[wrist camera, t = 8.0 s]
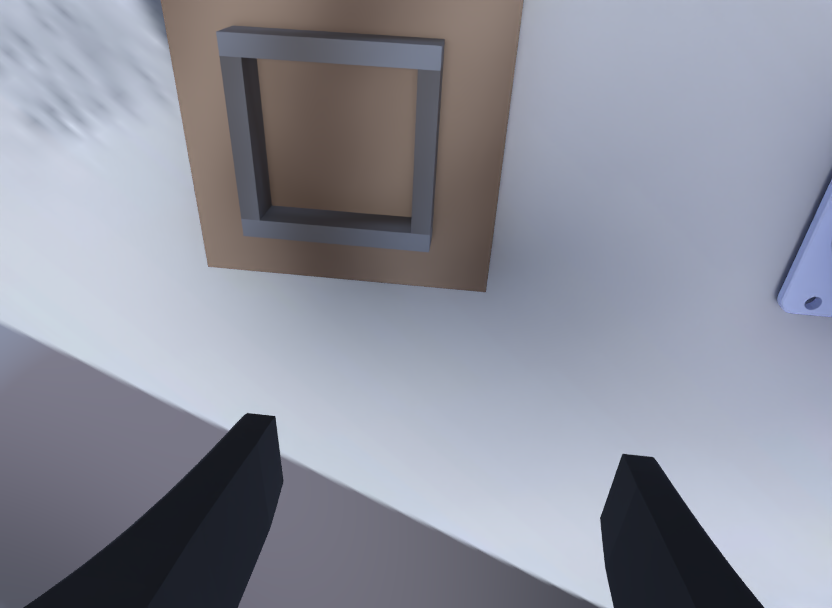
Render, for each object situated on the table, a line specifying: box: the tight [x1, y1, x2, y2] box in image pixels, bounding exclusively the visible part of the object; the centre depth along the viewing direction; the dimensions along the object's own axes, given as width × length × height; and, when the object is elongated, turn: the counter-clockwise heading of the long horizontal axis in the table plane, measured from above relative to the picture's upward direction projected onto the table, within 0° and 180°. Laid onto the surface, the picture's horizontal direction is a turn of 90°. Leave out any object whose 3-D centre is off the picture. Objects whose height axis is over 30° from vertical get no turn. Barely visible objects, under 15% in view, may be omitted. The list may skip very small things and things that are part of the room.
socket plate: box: [161, 0, 523, 292], centre depth 17 cm, size 10×10×2 cm
